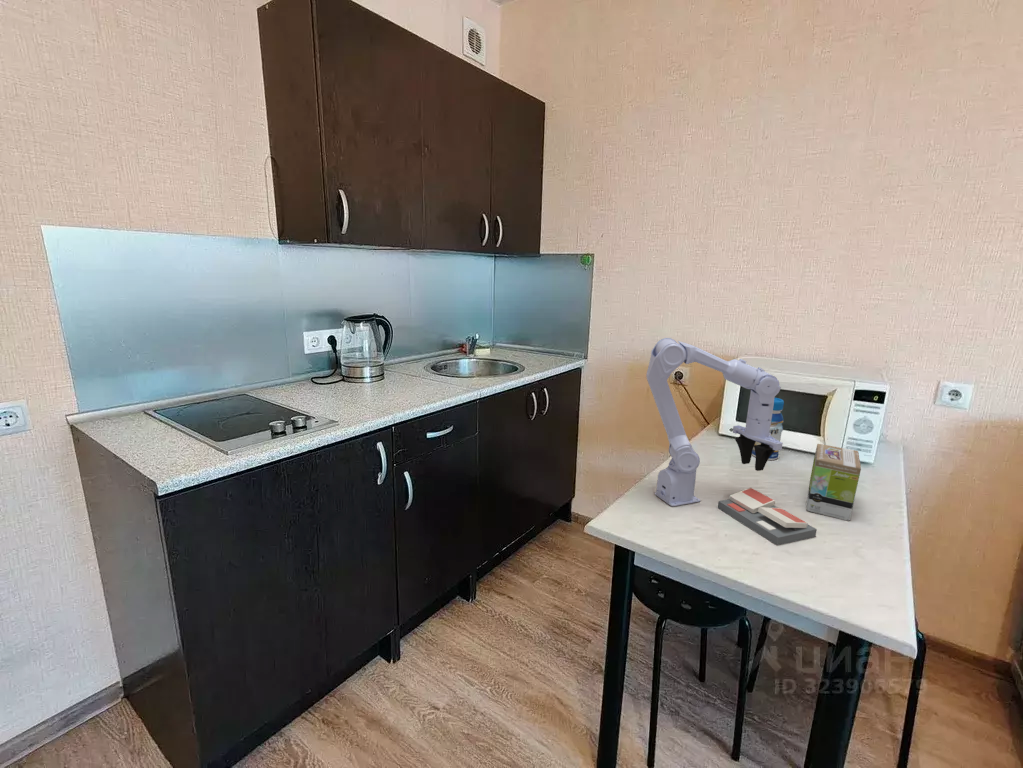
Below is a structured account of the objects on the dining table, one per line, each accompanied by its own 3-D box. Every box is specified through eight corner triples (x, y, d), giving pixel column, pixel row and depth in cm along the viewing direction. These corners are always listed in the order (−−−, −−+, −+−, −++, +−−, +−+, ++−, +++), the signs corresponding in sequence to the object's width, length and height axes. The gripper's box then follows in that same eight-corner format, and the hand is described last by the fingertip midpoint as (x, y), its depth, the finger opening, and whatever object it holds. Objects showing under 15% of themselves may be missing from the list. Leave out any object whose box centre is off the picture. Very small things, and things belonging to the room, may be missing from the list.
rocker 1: (753, 513, 124) (753, 509, 124) (729, 499, 132) (729, 495, 131) (774, 504, 126) (774, 500, 126) (750, 491, 134) (750, 487, 133)
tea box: (851, 522, 126) (862, 467, 122) (805, 511, 131) (814, 458, 127) (849, 499, 138) (859, 449, 134) (807, 490, 143) (816, 441, 140)
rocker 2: (785, 527, 115) (786, 522, 115) (757, 511, 123) (759, 506, 122) (806, 528, 118) (807, 523, 118) (778, 512, 125) (779, 507, 125)
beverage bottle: (781, 456, 169) (790, 399, 164) (773, 463, 163) (782, 404, 158) (755, 449, 174) (763, 394, 170) (746, 456, 168) (754, 399, 164)
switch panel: (776, 545, 114) (778, 535, 114) (717, 507, 132) (718, 498, 131) (815, 536, 118) (817, 526, 118) (753, 501, 136) (754, 492, 135)
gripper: (794, 424, 124) (786, 475, 127) (749, 409, 137) (743, 455, 140) (772, 427, 122) (765, 479, 125) (729, 411, 135) (723, 458, 138)
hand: (752, 466), depth 132 cm, fingers open, 4 cm apart
